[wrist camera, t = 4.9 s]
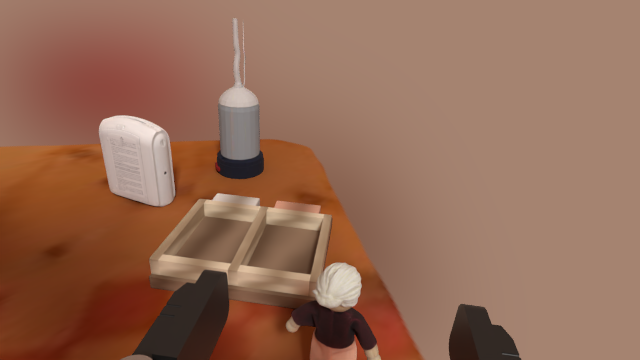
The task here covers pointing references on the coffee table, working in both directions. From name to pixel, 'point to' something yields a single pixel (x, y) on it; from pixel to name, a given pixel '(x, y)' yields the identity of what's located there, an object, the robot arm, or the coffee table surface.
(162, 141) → the photo printer
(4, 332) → the coffee table surface
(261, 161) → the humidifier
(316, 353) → the grandmother figurine
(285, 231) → the wooden divided tray
